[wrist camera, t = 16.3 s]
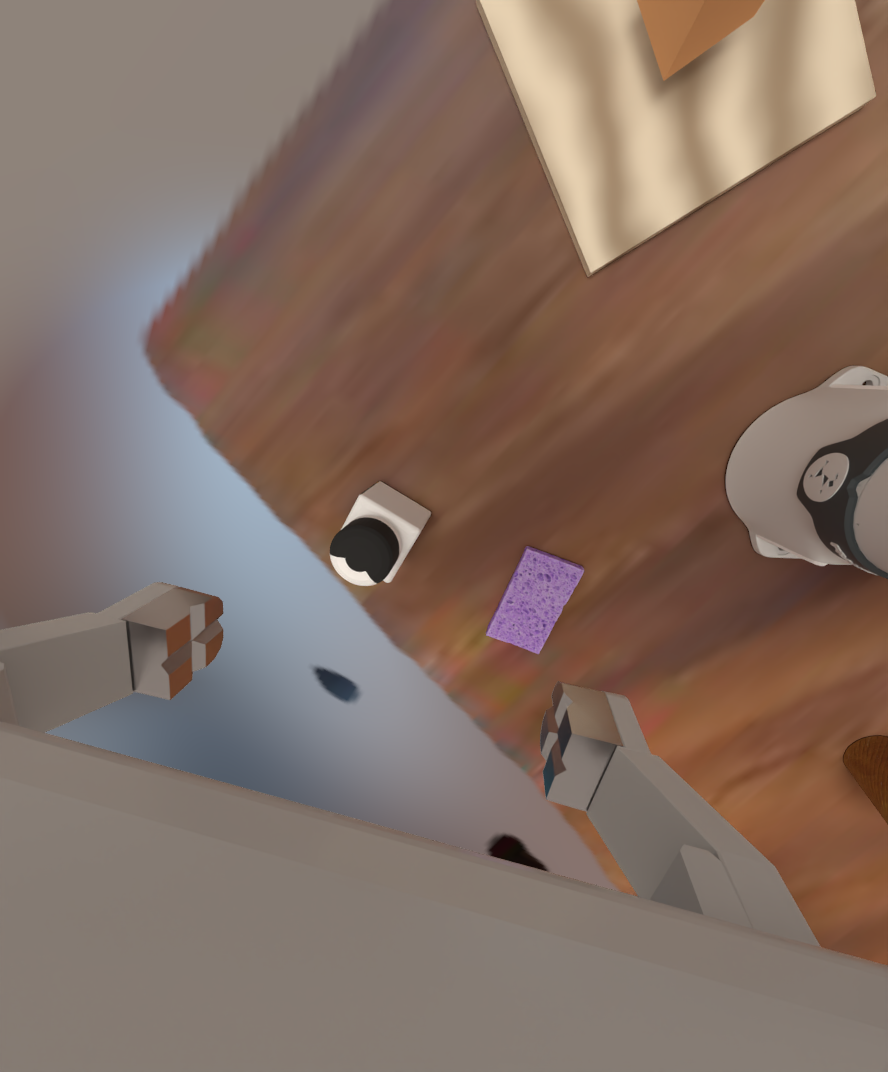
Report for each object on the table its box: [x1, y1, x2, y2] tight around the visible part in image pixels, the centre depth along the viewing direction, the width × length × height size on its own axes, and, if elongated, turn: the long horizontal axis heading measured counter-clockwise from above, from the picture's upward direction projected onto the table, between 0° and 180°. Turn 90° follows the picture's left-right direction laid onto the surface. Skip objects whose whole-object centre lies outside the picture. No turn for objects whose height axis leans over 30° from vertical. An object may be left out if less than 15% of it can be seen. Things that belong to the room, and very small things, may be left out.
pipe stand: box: [476, 0, 876, 277], centre depth 32 cm, size 22×22×2 cm
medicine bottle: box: [330, 481, 431, 586], centre depth 43 cm, size 7×7×12 cm
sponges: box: [486, 546, 584, 654], centre depth 49 cm, size 7×13×2 cm, turn 160°
